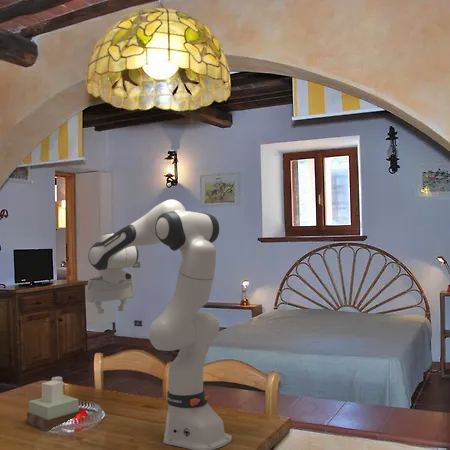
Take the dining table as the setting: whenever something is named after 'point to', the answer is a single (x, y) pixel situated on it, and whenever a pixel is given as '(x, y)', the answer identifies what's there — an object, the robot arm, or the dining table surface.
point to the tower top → (53, 407)
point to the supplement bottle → (60, 381)
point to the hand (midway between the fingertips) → (111, 312)
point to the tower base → (49, 423)
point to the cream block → (52, 391)
